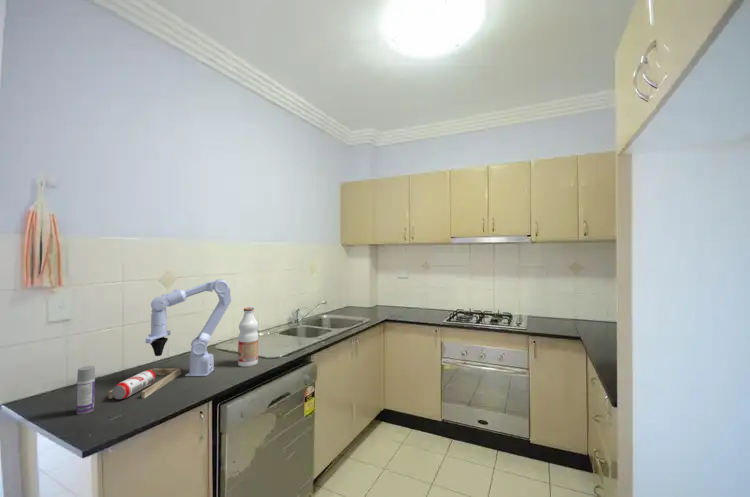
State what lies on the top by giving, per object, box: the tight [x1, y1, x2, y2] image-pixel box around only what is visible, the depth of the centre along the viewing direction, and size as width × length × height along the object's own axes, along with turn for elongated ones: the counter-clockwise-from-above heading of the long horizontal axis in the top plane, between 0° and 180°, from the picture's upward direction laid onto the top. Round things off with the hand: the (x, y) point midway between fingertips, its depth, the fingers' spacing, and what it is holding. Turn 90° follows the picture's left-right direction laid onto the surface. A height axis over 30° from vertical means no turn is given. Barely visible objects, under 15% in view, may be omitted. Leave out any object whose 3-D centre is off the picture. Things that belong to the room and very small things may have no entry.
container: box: [75, 365, 96, 415], centre depth 115 cm, size 5×5×15 cm
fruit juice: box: [237, 306, 259, 368], centre depth 165 cm, size 9×9×28 cm
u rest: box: [108, 368, 182, 399], centre depth 137 cm, size 13×25×2 cm, turn 2°
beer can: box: [111, 369, 157, 400], centre depth 131 cm, size 6×6×16 cm
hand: (158, 355), depth 144 cm, fingers closed
